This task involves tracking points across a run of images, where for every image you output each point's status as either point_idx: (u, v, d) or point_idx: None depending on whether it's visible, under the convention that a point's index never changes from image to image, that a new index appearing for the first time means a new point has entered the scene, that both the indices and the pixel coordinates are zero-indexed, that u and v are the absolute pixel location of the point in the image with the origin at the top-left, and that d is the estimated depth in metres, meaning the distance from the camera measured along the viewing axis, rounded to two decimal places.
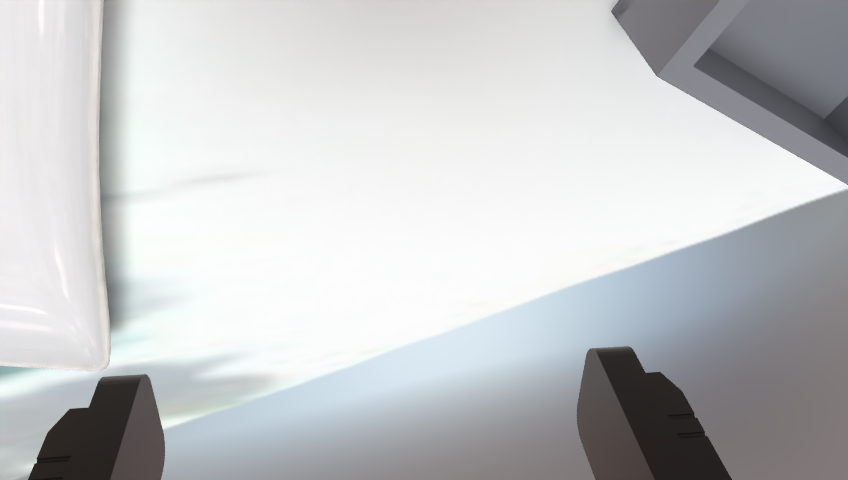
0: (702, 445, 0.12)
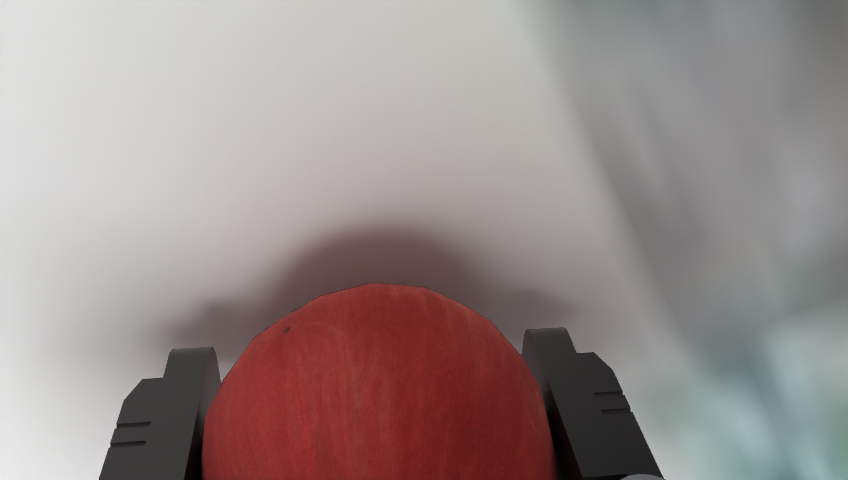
0: (626, 420, 0.12)
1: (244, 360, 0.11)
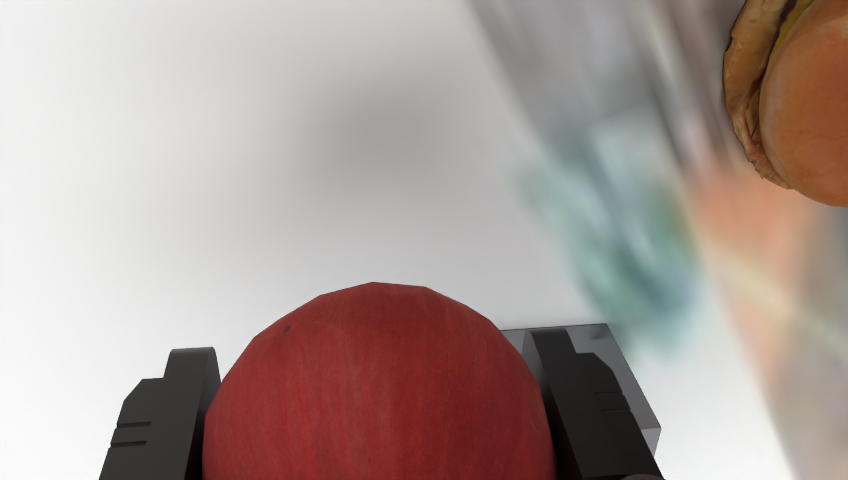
0: (627, 420, 0.12)
1: (244, 359, 0.11)
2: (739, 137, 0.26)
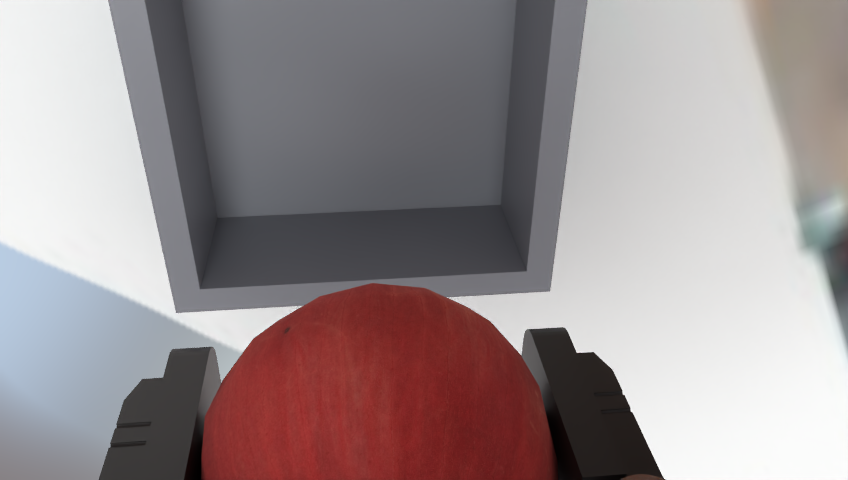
0: (626, 420, 0.12)
1: (244, 360, 0.11)
2: None
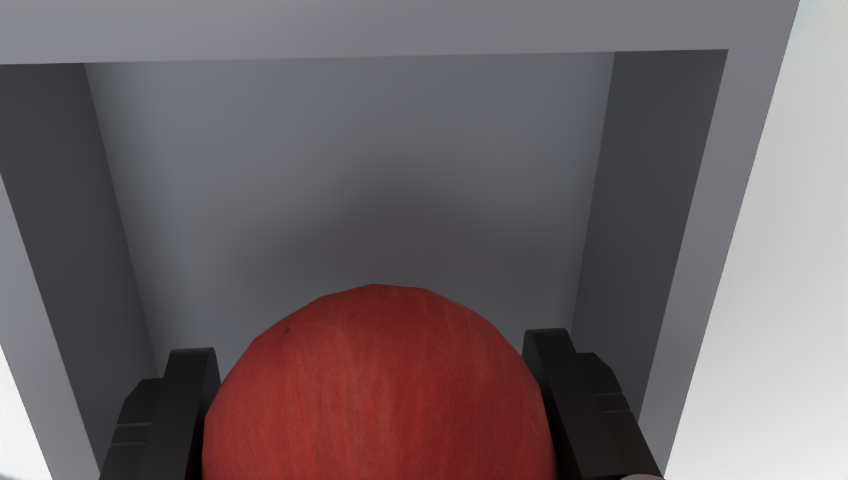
0: (626, 420, 0.12)
1: (244, 361, 0.11)
2: None
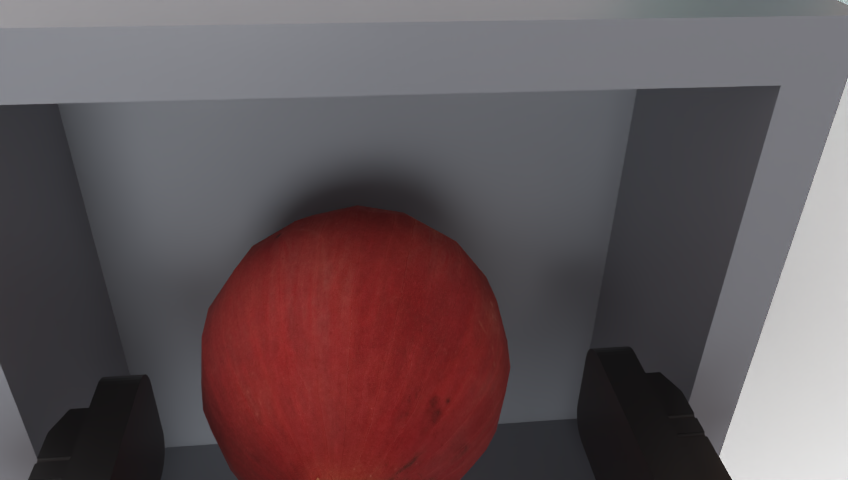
0: (702, 445, 0.12)
1: (241, 260, 0.13)
2: None
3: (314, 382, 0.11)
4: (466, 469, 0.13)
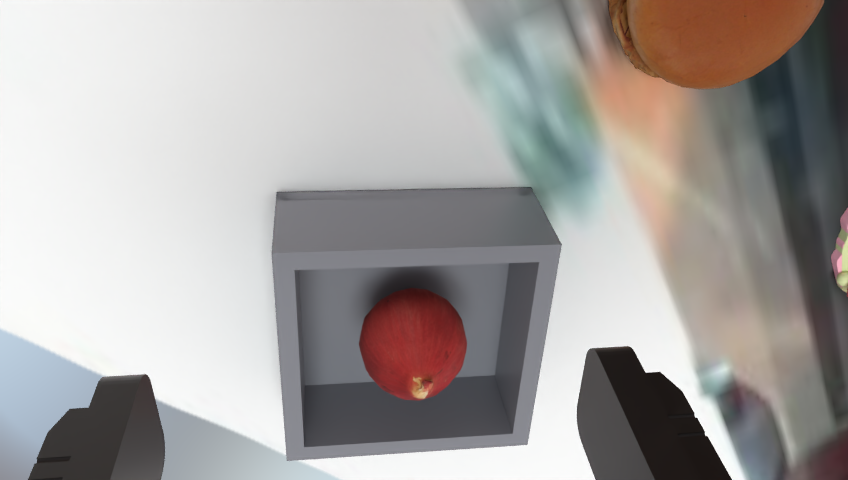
0: (702, 445, 0.12)
1: (375, 309, 0.39)
2: (617, 35, 0.36)
3: (411, 348, 0.37)
4: (455, 375, 0.39)
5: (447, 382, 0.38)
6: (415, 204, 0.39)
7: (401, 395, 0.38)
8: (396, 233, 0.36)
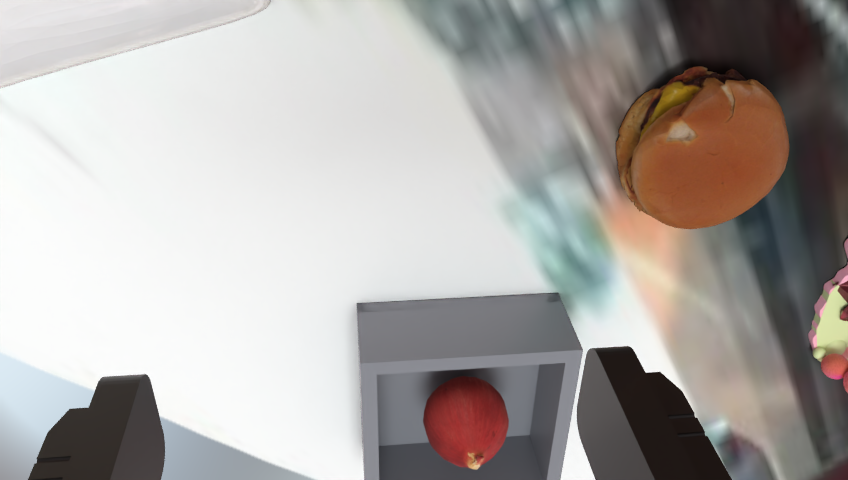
0: (702, 445, 0.12)
1: (436, 396, 0.50)
2: None
3: (466, 429, 0.48)
4: None
5: (494, 454, 0.49)
6: (466, 312, 0.50)
7: (458, 464, 0.49)
8: (453, 342, 0.47)
